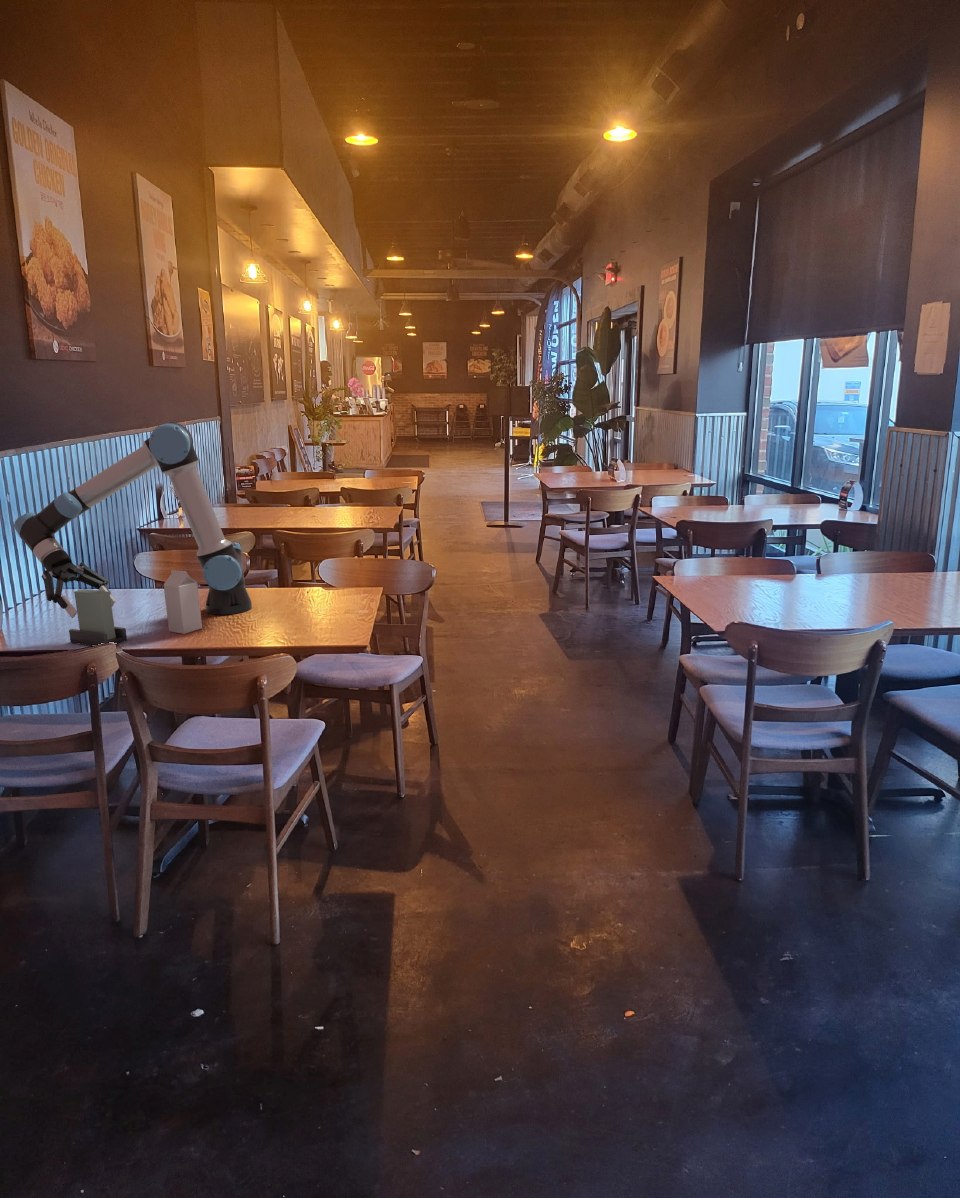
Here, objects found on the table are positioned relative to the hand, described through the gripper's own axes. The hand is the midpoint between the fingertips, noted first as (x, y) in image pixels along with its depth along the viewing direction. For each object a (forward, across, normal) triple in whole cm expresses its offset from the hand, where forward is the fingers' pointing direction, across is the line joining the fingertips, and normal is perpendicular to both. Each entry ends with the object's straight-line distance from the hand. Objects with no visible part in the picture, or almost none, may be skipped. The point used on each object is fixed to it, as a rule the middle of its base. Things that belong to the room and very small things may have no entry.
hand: (94, 609), depth 253 cm
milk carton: (+18, -20, +3) cm, 27 cm away
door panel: (+6, 0, -6) cm, 9 cm away
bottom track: (+7, 0, -7) cm, 10 cm away
